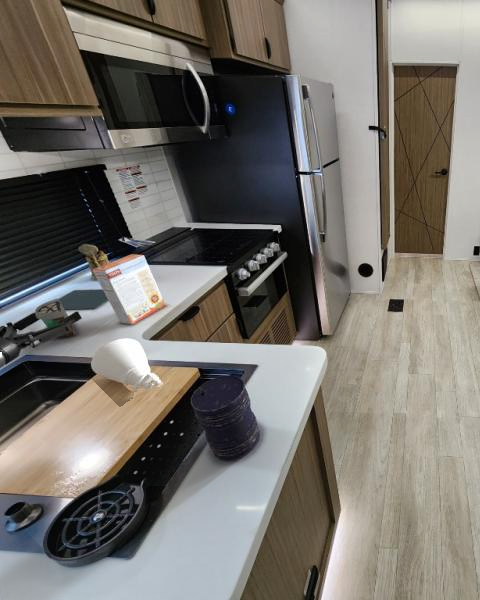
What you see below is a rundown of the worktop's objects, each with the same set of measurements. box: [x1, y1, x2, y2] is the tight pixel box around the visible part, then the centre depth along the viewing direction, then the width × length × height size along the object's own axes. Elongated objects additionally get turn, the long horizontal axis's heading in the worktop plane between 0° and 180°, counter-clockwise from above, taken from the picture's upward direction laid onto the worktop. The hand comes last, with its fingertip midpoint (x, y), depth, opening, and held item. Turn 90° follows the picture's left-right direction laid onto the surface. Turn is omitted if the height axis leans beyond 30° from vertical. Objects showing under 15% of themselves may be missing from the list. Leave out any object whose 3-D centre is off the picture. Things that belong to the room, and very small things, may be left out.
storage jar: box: [190, 375, 261, 462], centre depth 69 cm, size 10×10×15 cm
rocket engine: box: [90, 338, 164, 393], centre depth 87 cm, size 12×12×18 cm
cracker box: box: [93, 253, 166, 325], centre depth 116 cm, size 14×6×21 cm, turn 165°
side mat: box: [58, 288, 109, 311], centre depth 131 cm, size 20×16×1 cm
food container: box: [34, 298, 76, 339], centre depth 108 cm, size 12×6×10 cm, turn 45°
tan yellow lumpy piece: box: [77, 243, 111, 281], centre depth 145 cm, size 9×14×18 cm, turn 33°
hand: (57, 315), depth 110 cm, fingers open, 13 cm apart
